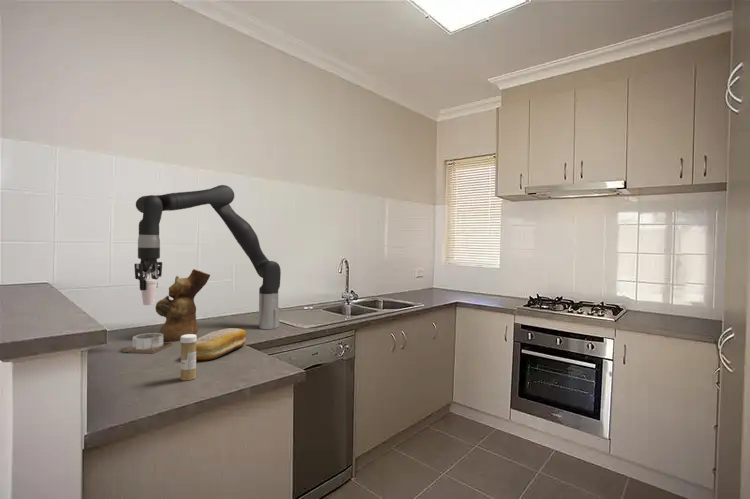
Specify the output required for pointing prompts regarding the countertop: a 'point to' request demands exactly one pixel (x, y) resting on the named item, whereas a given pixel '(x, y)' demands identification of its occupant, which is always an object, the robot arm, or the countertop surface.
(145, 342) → the duct collar
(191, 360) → the sprinkles bottle
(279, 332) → the countertop surface
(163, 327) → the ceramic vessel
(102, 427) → the countertop surface
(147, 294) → the smoothie
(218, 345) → the bread
